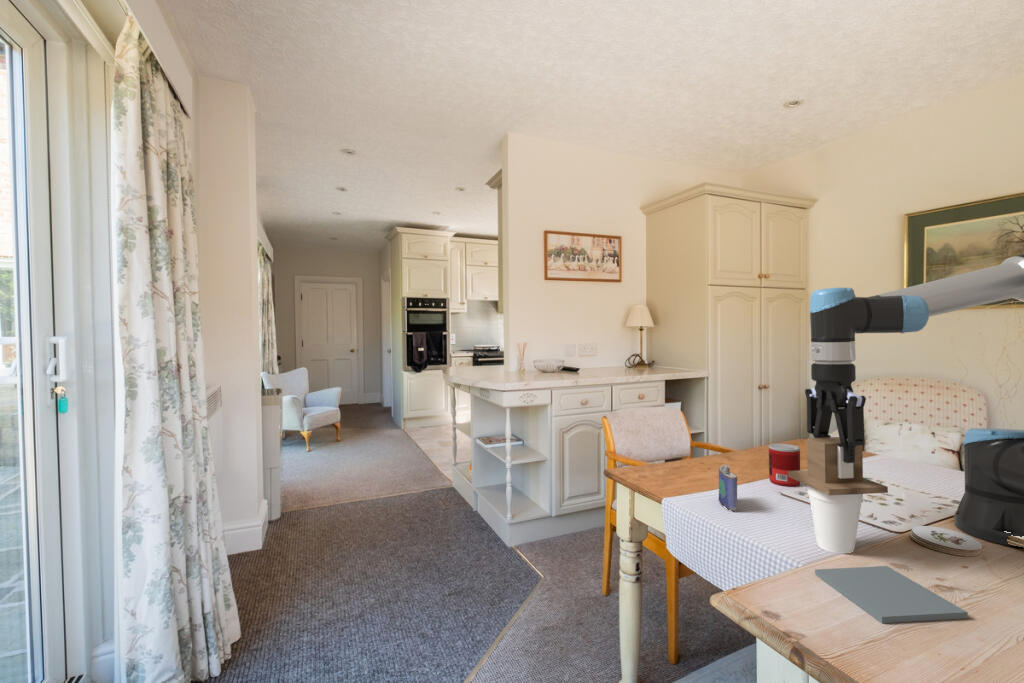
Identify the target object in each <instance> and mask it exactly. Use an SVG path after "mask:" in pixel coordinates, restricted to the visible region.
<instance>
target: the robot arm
mask: <svg viewBox="0 0 1024 683" xmlns="http://www.w3.org/2000/svg"><path fill="white" fill-rule="evenodd" d="M1012 298H1014V299H1017V300H1021V301H1023V300H1024V253H1022V254H1018V255H1014V256H1011V257H1008V258H1005V259H1004V260H1003V261H1002V262H1001V264H996V265H993V266H989V267H986V268H981V269H977V270H976V269H975V270H974V271H968V272H964V273H961V274H956V275H952V276H949V277H945V278H939V279H937V280H932V281H928V282H924V283H920V284H916V285H912V286H909V287H908V286H907V287H903V288H900V289H896V290H892V291H887V292H883V293H880V294H876V295H872V296H865V297H863V296H856V294H855V290H854V289H853V288H852V287H830V288H829V287H828V288H820V289H816V290H814V291H813V292H812V293H811V294H810V300H809V301H810V302H809V310H808V312H809V318H810V319H809V320H810V321H809V323H810V324H809V326H810V343H811V348H810V357H811V358H810V359H811V360H812V362H814V363H811V364H810V374H811V375H810V376H811V380H812V381H813V382H814V381H815V386H814V387H813V388H805V390H804V394H805V397H806V431H807V434H810V435H812V436H813V438H828V437H832V436H831V435H830V434H829V432H830V428H831V427H830V426H831V421H832V416H833V414H834V418H835V419H834V420H835V423H836V428H837V433H838V437H839V438H840V443H841V444H837V445H838V446H837V456H838V478H841V479H842V478H854V477H853V463H854V462H855V447H856V446H860V445H862V446H864V445H865V443H866V442H865V416H864V415H865V414H864V412H865V410H864V407H865V404H866V400H867V397H866V396H865V395H858V394H857V393H854V390H853V387H852V383H854V382H855V381H856V379H857V378H856V377H857V376H856V373H857V372H856V365H855V364H854V363H853V362H855V361H856V360H857V358H856V334H892V333H893V334H895V333H896V334H897V333H898V334H905V333H916V332H919V331H921V330H923V329H924V328H925V327H926V326H927V324H928V321H929V318H930V317H934V316H938V315H943V314H947V313H948V314H949V313H953V312H955V311H961V310H965V309H970V308H973V307H978V306H983V305H987V304H992V303H996V302H999V301H1000V302H1001V301H1004V300H1010V299H1012ZM847 439H848V440H847ZM962 446H963V451H964V452H963V454H964V456H963V461H964V462H963V463H964V494H963V496H962V497H961V500H960V502H959V504H958V506H957V509H956V510H955V512H954V514H953V515H954V519H953V520H954V521H953V523H954V526H955V527H956V528H957V529H959V530H960V531H962V532H963V533H966V534H967V535H970V536H974V537H976V538H979V539H981V540H985V541H988V542H992V543H995V544H998V545H1004V546H1008V547H1011V546H1010V544H1008V542H1007V539H1009V537H1008V536H1011V535H1013V536H1020V537H1022V536H1024V429H1012V428H1011V429H1010V428H1009V429H1008V428H987V427H985V428H980V427H979V428H978V427H977V428H975V427H974V428H970V429H967V430H966V431H965V433H964V438H963V444H962ZM1004 531H1007V532H1011V533H1006V532H1004Z"/></svg>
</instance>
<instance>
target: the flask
mask: <svg viewBox="0 0 1024 683" xmlns="http://www.w3.org/2000/svg"><path fill="white" fill-rule="evenodd" d="M730 468H731V465H727V464H721V466H720V467H718V502H719V501H720V502H721V504H722V505H723V506H725V507H726V508H727V509H728V510H731V511H737V512H738V509H739V508H738V477H737V475H735V474H734V473H732V472H731V470H730ZM721 504H720V505H721ZM722 505H721V506H722ZM723 506H722V507H723ZM728 510H727V511H728Z"/></svg>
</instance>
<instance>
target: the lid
mask: <svg viewBox="0 0 1024 683" xmlns="http://www.w3.org/2000/svg"><path fill="white" fill-rule="evenodd" d="M847 440H848V439H847ZM837 444H841V443H840V438H839V436H835V437H834V436H833V437H832V436H831V437H828V438H814V437H809V438H807V437H806V451H807V452H806V454H807V455H806V456H807V463H806V464H807V469H800V470H799V471H788V477H790V478H793V479H795V480H797V481H799V482H800V484H804V485H806V486H807V485H808V486H810V487H812V488H814V489H816V490H818V491H821V492H823V493H825V494H827V495H851V494H863V495H867V494H869V495H870V494H871V495H872V494H888V493H889V492H888V490H889V487H888V486H887V485H885V484H881V483H879V482H876V481H873V480H871V479H868V478H865V477H864V470H863V469H864V467H863V465H864V461H863V458H864V457H863V456H864V454H863V445H860V446H856V447H855V462H854V463H853V477H854V478H842V479H841V478H838V456H837V446H838V445H837ZM808 486H807V487H808Z"/></svg>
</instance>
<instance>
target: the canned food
mask: <svg viewBox="0 0 1024 683" xmlns="http://www.w3.org/2000/svg"><path fill="white" fill-rule="evenodd" d="M799 470H801V449H800V447H799V446H797V445H794V444H788V443H771V444H769V445H768V474H769V475H768V478H769V481H770V483H772V484H774V485H776V486H781V487H788V488H795V487H799V486H800V484H801V482H799V481H797V480H795V479H793V478H790V477H788V471H799Z"/></svg>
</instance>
